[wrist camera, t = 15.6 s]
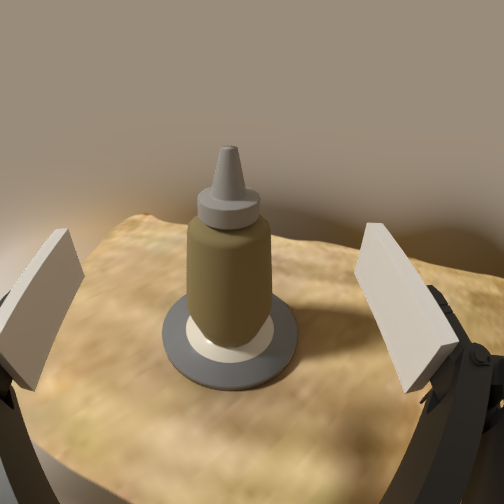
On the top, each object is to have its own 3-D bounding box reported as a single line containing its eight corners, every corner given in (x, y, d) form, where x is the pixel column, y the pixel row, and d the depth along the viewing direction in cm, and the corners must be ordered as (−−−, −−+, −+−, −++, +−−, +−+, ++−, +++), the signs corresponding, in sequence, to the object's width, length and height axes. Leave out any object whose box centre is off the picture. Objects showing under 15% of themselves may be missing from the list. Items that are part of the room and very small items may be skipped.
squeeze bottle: (176, 319, 30) (152, 147, 20) (237, 289, 35) (240, 131, 24) (220, 372, 25) (210, 177, 15) (285, 331, 30) (312, 154, 19)
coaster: (318, 368, 27) (321, 362, 27) (175, 404, 23) (173, 399, 23) (269, 279, 38) (269, 273, 37) (157, 299, 34) (156, 292, 34)
